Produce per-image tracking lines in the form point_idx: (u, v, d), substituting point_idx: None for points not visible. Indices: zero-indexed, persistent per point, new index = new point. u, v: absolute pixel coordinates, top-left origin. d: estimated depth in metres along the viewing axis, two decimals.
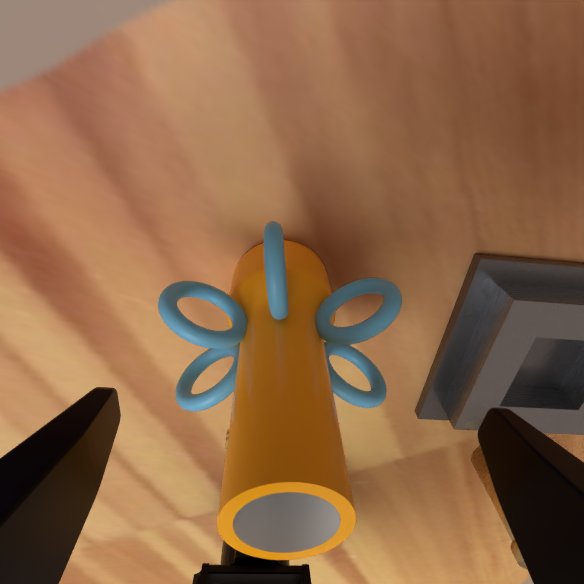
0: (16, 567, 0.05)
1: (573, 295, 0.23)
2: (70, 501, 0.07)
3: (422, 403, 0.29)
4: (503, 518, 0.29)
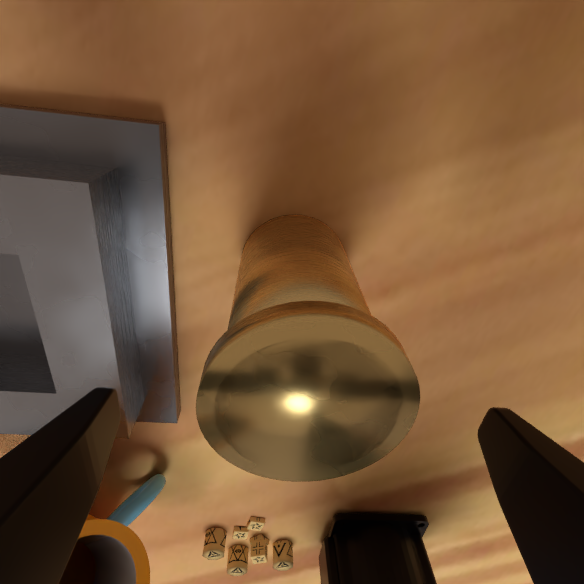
0: (16, 567, 0.05)
1: None
2: (70, 501, 0.07)
3: (150, 417, 0.19)
4: None
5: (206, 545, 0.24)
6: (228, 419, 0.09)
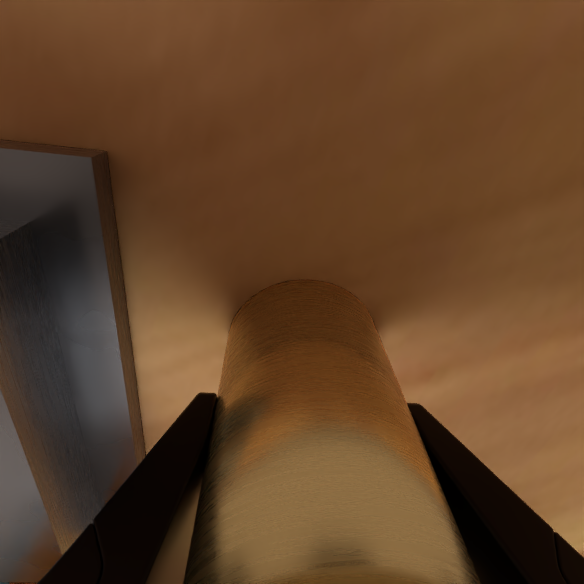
0: (170, 568, 0.06)
1: None
2: (195, 504, 0.07)
3: None
4: None
5: None
6: None
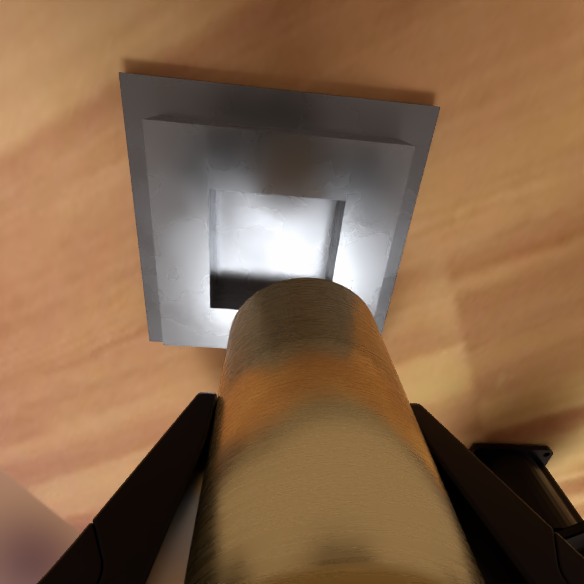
0: (170, 568, 0.06)
1: None
2: (195, 504, 0.07)
3: None
4: None
5: None
6: None
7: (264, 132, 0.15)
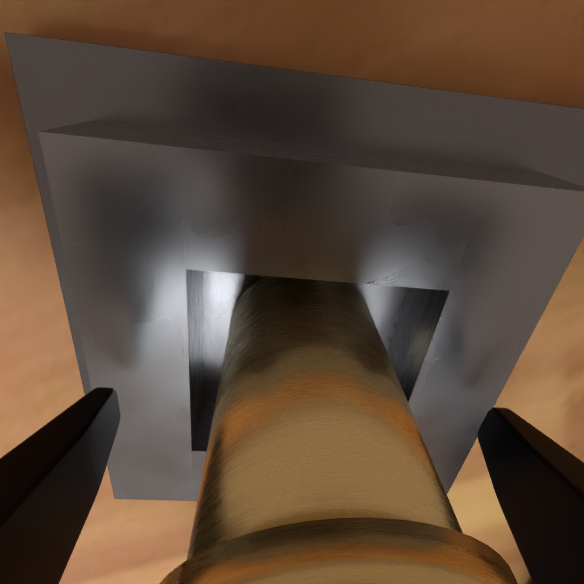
0: (16, 567, 0.05)
1: None
2: (70, 501, 0.07)
3: None
4: None
5: None
6: None
7: (303, 163, 0.07)
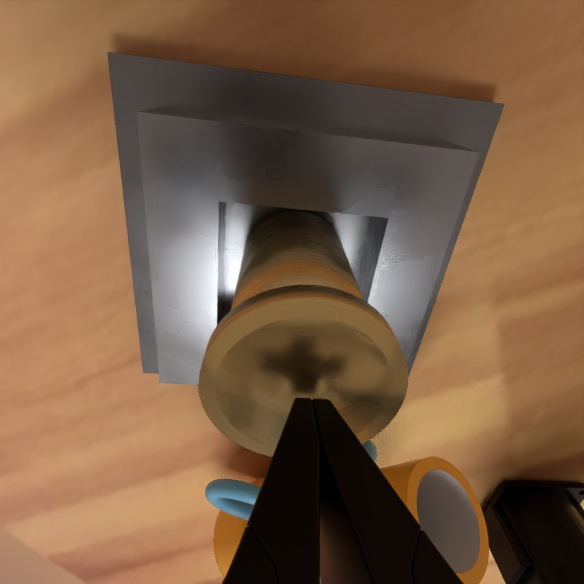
0: None
1: None
2: None
3: None
4: None
5: None
6: (228, 396, 0.09)
7: (292, 131, 0.12)
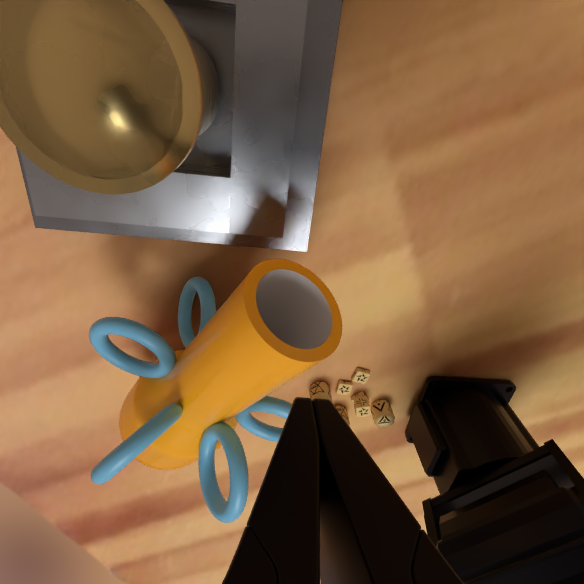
0: None
1: None
2: None
3: (281, 247, 0.20)
4: None
5: (314, 394, 0.25)
6: (13, 94, 0.09)
7: None
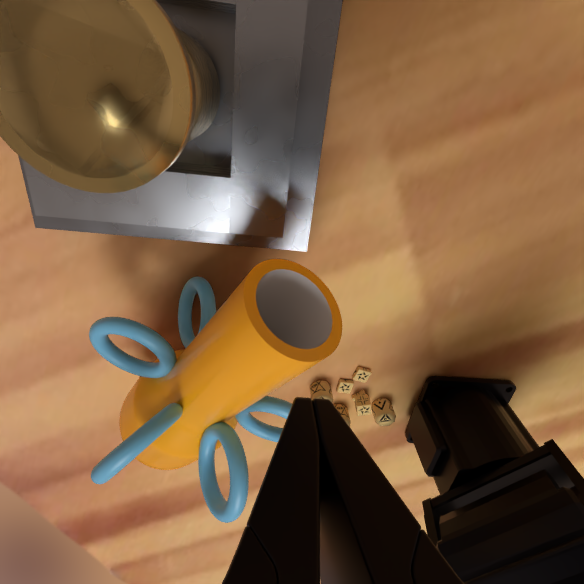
0: None
1: None
2: None
3: (281, 247, 0.20)
4: None
5: (315, 392, 0.25)
6: (5, 93, 0.09)
7: None
